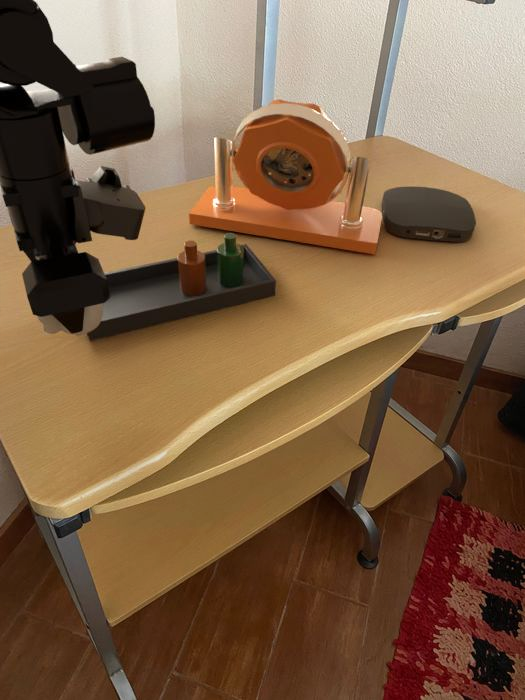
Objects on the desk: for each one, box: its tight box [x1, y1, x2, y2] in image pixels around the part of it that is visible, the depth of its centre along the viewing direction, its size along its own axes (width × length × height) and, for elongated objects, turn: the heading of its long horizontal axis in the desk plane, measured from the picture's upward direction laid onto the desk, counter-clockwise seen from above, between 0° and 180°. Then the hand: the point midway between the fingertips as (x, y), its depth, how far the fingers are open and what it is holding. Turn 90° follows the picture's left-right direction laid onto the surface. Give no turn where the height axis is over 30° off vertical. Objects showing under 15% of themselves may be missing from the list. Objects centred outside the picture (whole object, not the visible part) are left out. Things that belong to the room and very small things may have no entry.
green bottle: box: [216, 232, 244, 287], centre depth 72 cm, size 4×4×7 cm
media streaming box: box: [381, 186, 477, 243], centre depth 89 cm, size 15×15×3 cm
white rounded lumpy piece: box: [37, 304, 103, 337], centre depth 52 cm, size 5×7×8 cm
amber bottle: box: [177, 240, 206, 296], centre depth 70 cm, size 4×4×7 cm
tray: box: [86, 243, 277, 342], centre depth 71 cm, size 25×10×2 cm, turn 115°
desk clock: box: [188, 98, 383, 255], centre depth 80 cm, size 12×30×20 cm, turn 76°
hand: (71, 314), depth 54 cm, fingers closed on white rounded lumpy piece, 5 cm apart
